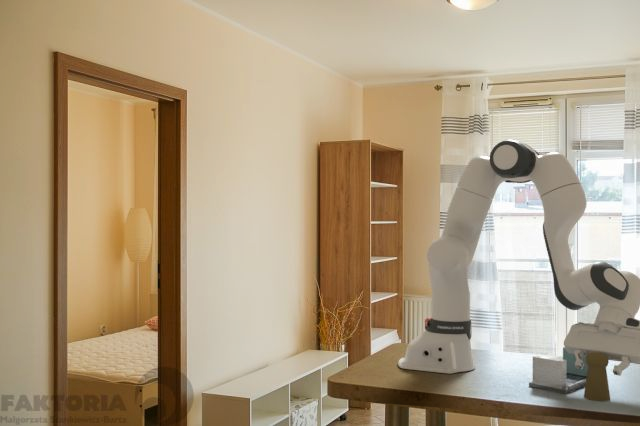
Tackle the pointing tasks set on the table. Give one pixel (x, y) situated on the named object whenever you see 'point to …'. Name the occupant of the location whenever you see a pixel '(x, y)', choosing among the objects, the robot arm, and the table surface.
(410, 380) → the table surface
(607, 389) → the cork
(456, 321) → the robot arm
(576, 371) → the block
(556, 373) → the vise base
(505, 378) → the table surface
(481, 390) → the table surface
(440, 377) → the table surface
